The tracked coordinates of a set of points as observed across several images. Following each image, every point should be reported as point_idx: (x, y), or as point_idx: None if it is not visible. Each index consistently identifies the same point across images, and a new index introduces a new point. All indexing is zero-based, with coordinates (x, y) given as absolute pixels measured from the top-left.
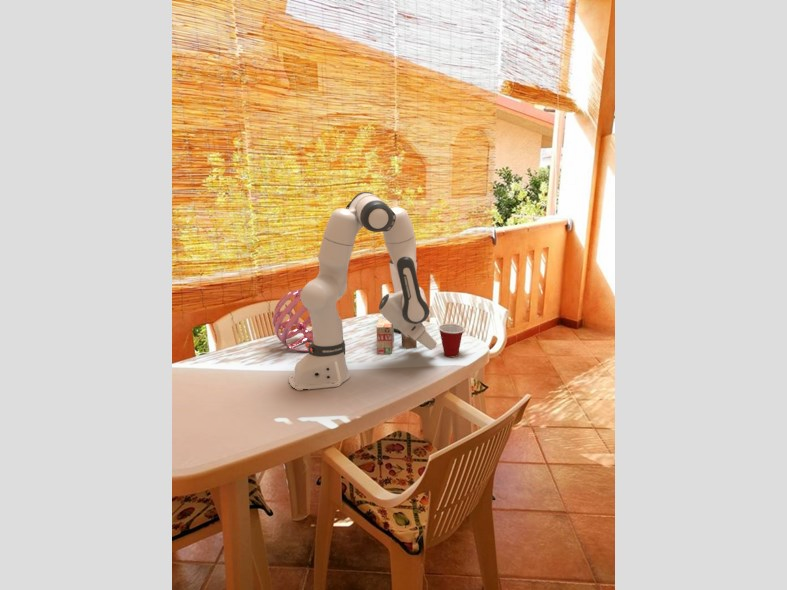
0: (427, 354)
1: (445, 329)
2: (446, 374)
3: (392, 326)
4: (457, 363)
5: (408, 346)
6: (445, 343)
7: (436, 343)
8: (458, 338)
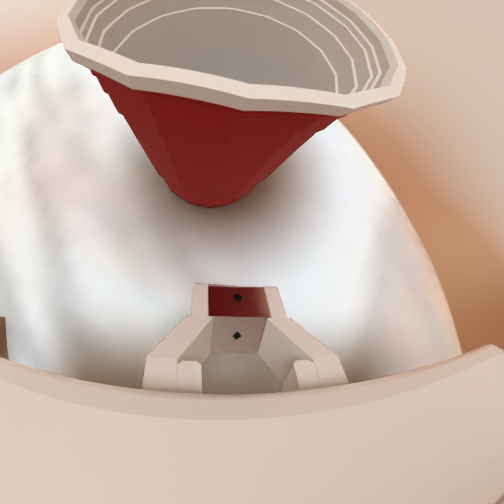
0: (134, 315)
1: (104, 44)
2: (448, 320)
3: None
4: (361, 207)
5: None
6: (263, 170)
7: (500, 350)
8: (319, 62)
